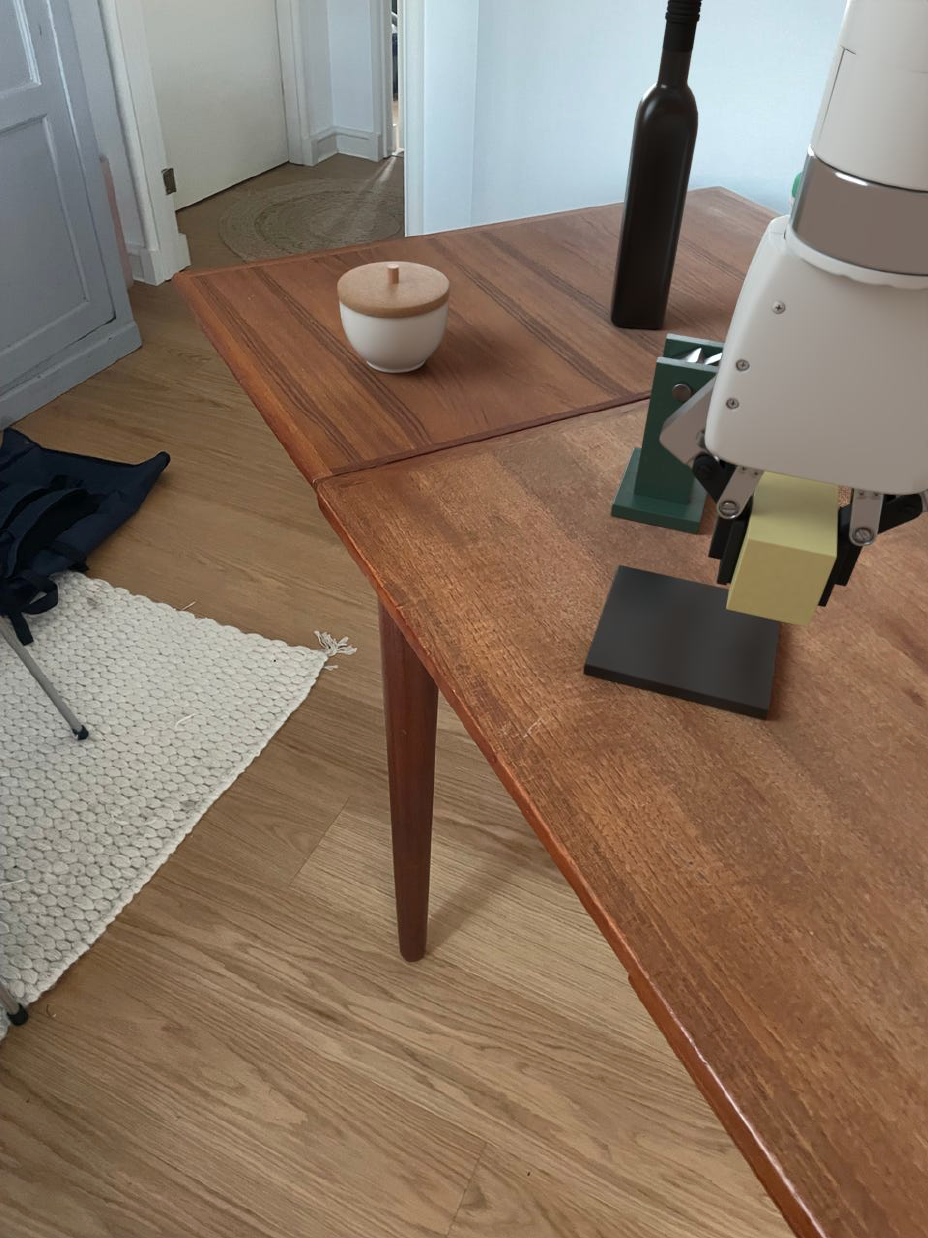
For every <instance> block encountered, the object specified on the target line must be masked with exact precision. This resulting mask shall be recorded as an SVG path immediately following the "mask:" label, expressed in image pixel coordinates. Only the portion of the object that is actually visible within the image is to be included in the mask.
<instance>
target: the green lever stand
mask: <svg viewBox="0 0 928 1238" xmlns="http://www.w3.org/2000/svg"><path fill="white" fill-rule="evenodd" d="M724 344H725V342H723V341H716V340H710V339H704V338H698V337H692V336H687V335H681V334H675V333H667V335H666V338H665V340H664V347H663V352H662V356H658V357H657V360H656V363H655V369H654V374H653V380H652V385H651V390H650V395H649V396H650V397H649V402H648V407H647V413H646V420H645V425H644V429H643V430H644V431H643V435H642V443H641V447H637V446H634V447H633V448H632V452H631V454H630V457H629V459H628V462H627V464H626V467H625V469H624V472H623V475H622V478H621V480H620V483H619V486H618V488H617V490H616V494H615V497H614V499H613V501H612V504H611V510H610V516H611V517H614V518H619V519H624V520H629V521H634V522H638V523H643V524H648V525H653V526H657V527H662V528H666V529H671V530H675V531H681V532H685V533H689V534H694V535H697V534H698V533H699V529H700V525H701V521H702V518H703V517H702V516H703V514H704V513H703V512H704V510H705V505H706V501H707V497H708V495H709V494H708V493H707V491H706V490H705V489H704V488H703V486H702V485H701V484H700V482H699V481H698V480H697V479H696V477H695V476H694V474H693V472H692V469H691V468H690V467H689V466H688V465H684V464H683V463H682V462H681V461H680V460H679V459H677V458H676V457H675V456H674V455H673V454H672V453H670V452H669V451H668V450H667V449H666V448H665V447H663V446H662V444H661V443H660V440H659V438H660V434H661V431H662V427H663V424H664V422H665V421H666V419H668V418H669V417H670V416H671V415H672V414H673V413H674V412H675V411H677V410H678V409H679V408H680V407H681V406H682V405H683V404H684V403H686V402H687V401H688V400H689V399H690V398H691V397H692V396H693V395H695V394H696V393H697V392H698V391H699V390H700V389H701V388H702V387H704V386H705V385H706V384H707V383H708V382H709V381H710V380H711V379H713V378H714V377H715V376H716V372H717V369H718V367H717V366H711V365H706V364H700V363H694V362H688V361H682V360H677V359H672V358H675V357H678V356H681V355H683V354H686V353H689V352H691V351H694V350H697V349H700V348H701V349H702V351H703V353H704V356H705V358H709V357H712V356H715V355H717V354H720V353H722V351H723V347H724ZM705 431H706V428H705V429H704V430H703V431H701V432H702V433H703V434H704V435H705Z"/></svg>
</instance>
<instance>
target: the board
mask: <svg viewBox="0 0 928 1238" xmlns="http://www.w3.org/2000/svg"><path fill="white" fill-rule="evenodd" d="M728 593H729V588H725V587H721V586H717V585H716V586H715V585H711V584H707V583H703V582H698V581H694V580H689V579H684V578H681V577H675V576H671V575H667V574H662V573H657V572H654V571H649V570H645V569H641V568H635V567H631V566H626V565H624V564H618V565H617V567H616V571H615V573H614V576H613V579H612V583H611V585H610V588H609V591H608V593H607V598H606V599H605V603H604V605H603V608H602V611H601V614H600V617H599V619H598V623H597V626H596V628H595V632H594V634H593V637H592V641H591V642H590V643H591V644H590V647H589V649H588V652H587V655H586V658H585V660H584V663H583V671H582V673H583V675H586V676H590V677H595V678H598V679H603V680H607V681H609V682H613V683H618V684H622V685H626V686H629V687H632V688H633V687H635V688H637V689H641V690H645V691H650V692H654V693H657V694H661V695H665V696H669V697H674V698H678V699H680V700H685V701H689V702H693V703H696V704H701V705H705V706H708V707H713V708H717V709H721V710H725V711H729V712H733V713H736V714H740V715H744V716H748V717H752V718H756V719H760V720H765V721H766V719H767V717H768V714H769V711H770V704H771V698H772V689H773V682H774V675H775V666H776V659H777V652H778V645H779V638H780V637H779V636H780V629H781V623H782V621H777V620H773V619H768V618H764V617H759V616H755V615H750V614H746V613H741V612H737V611H732V610H728V609H726V606H727V600H728Z"/></svg>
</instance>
